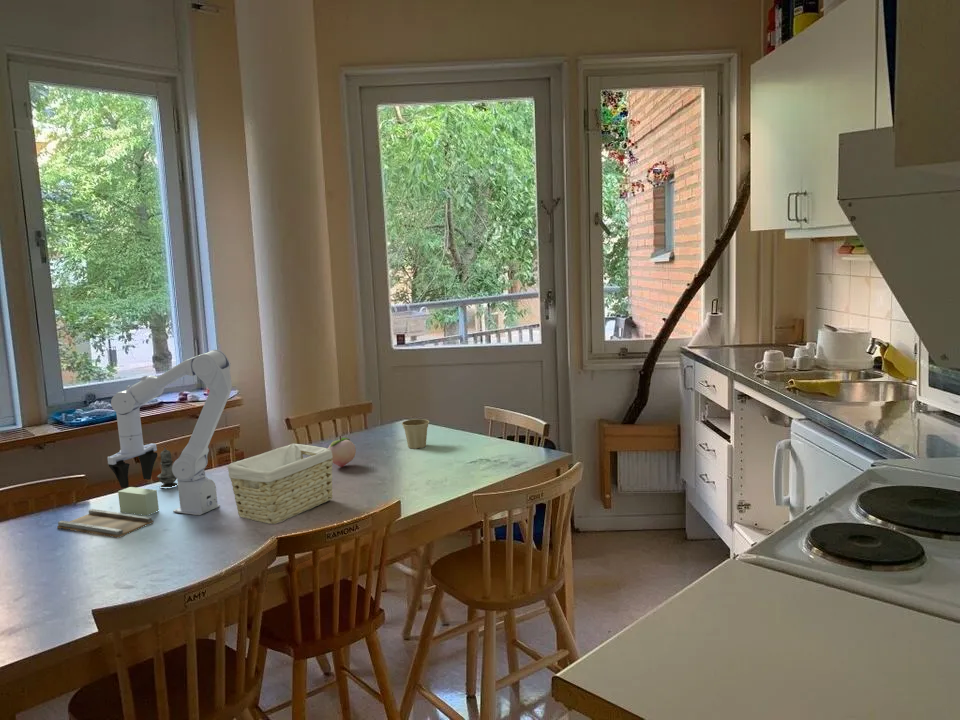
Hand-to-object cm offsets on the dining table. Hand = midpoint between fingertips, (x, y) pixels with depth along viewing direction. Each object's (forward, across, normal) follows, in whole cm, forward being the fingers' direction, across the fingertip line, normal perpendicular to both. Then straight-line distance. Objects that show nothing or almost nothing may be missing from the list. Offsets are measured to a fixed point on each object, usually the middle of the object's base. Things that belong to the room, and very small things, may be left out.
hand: (136, 483), depth 211 cm
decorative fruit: (+8, -52, +31) cm, 61 cm away
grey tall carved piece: (+8, -20, -10) cm, 24 cm away
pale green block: (+8, 0, 0) cm, 8 cm away
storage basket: (+8, -14, +38) cm, 42 cm away
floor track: (+8, +11, 0) cm, 14 cm away
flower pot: (+8, -80, +42) cm, 91 cm away
